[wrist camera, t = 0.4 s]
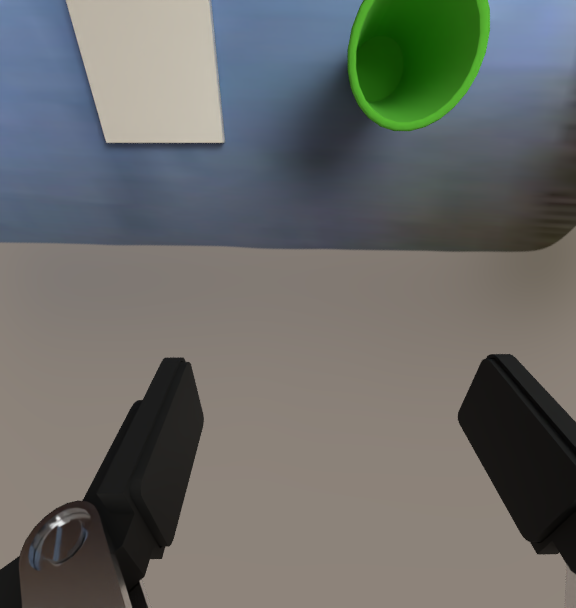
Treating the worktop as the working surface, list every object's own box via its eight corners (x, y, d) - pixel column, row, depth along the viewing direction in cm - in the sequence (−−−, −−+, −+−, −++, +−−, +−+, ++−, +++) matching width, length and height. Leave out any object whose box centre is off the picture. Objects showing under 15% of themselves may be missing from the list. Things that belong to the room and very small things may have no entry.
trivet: (66, -20, 25) (59, -24, 25) (209, -19, 25) (206, -24, 25) (111, 141, 32) (106, 142, 31) (225, 142, 32) (223, 142, 31)
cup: (341, 139, 32) (364, 151, 23) (316, 32, 27) (332, -9, 18) (428, 105, 30) (491, 102, 21) (417, -15, 26) (492, -87, 16)
